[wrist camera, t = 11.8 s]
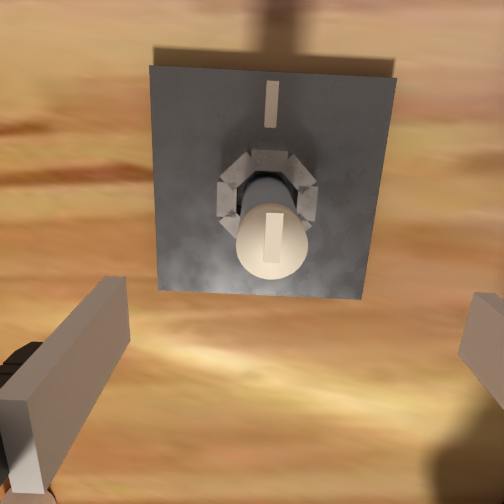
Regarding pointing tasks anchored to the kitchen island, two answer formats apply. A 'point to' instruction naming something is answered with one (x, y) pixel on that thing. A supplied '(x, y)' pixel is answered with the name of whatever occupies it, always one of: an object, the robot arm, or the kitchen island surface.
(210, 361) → the kitchen island surface
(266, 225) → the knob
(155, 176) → the base plate
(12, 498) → the cup
